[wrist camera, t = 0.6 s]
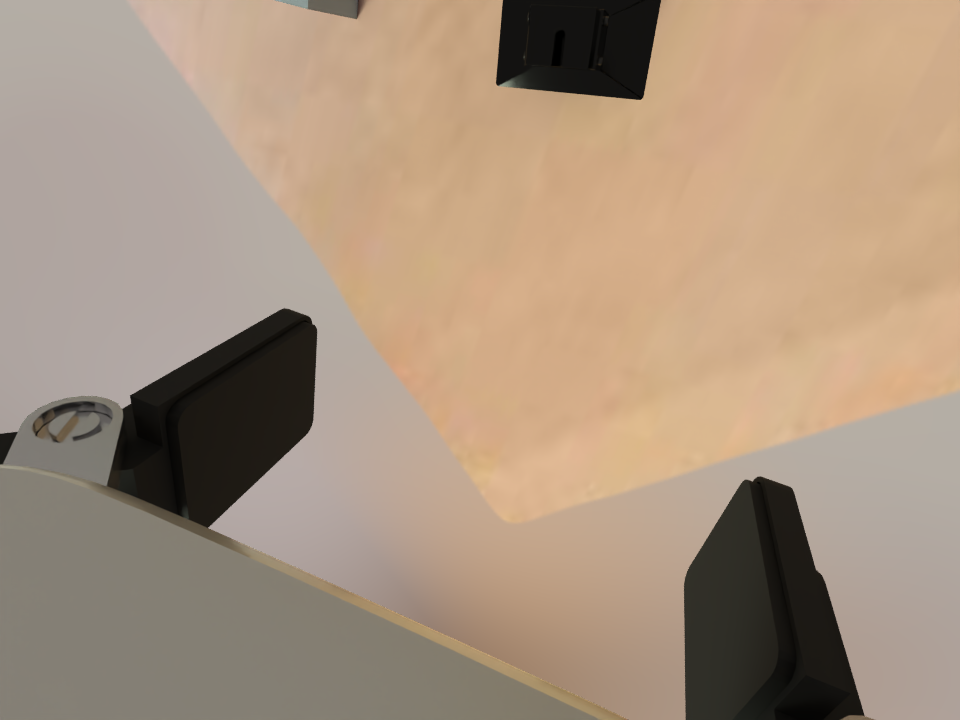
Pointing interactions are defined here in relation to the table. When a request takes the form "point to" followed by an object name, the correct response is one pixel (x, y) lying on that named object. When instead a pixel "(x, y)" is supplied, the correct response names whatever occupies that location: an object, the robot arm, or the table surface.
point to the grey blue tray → (328, 6)
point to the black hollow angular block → (577, 46)
